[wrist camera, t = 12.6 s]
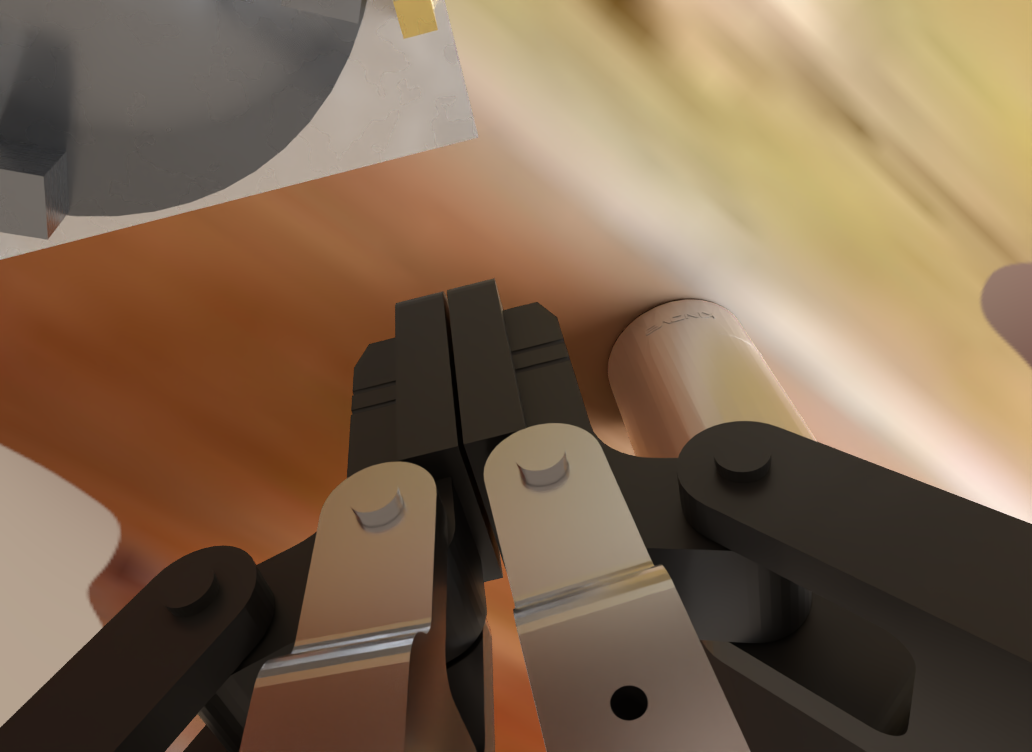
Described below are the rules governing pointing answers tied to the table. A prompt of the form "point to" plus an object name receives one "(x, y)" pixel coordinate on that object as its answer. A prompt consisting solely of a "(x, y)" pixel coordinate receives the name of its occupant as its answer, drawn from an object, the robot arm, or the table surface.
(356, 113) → the base plate
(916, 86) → the table surface
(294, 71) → the grey flat round piece
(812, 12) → the table surface
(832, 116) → the table surface
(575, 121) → the table surface
